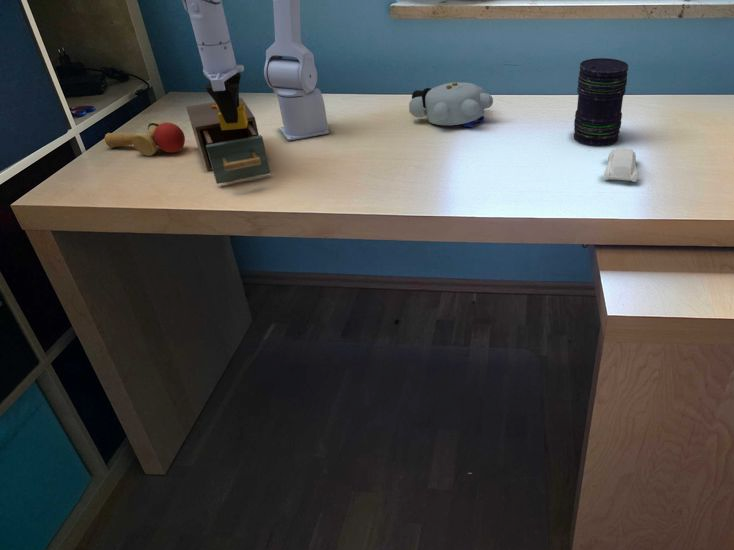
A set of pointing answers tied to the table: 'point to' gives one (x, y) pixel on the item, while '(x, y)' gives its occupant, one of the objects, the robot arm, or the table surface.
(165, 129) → the kendama
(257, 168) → the drawer
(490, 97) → the figurine
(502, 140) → the table surface
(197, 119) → the cabinet
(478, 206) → the table surface
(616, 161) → the white toy car
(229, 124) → the duck
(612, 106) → the storage jar
